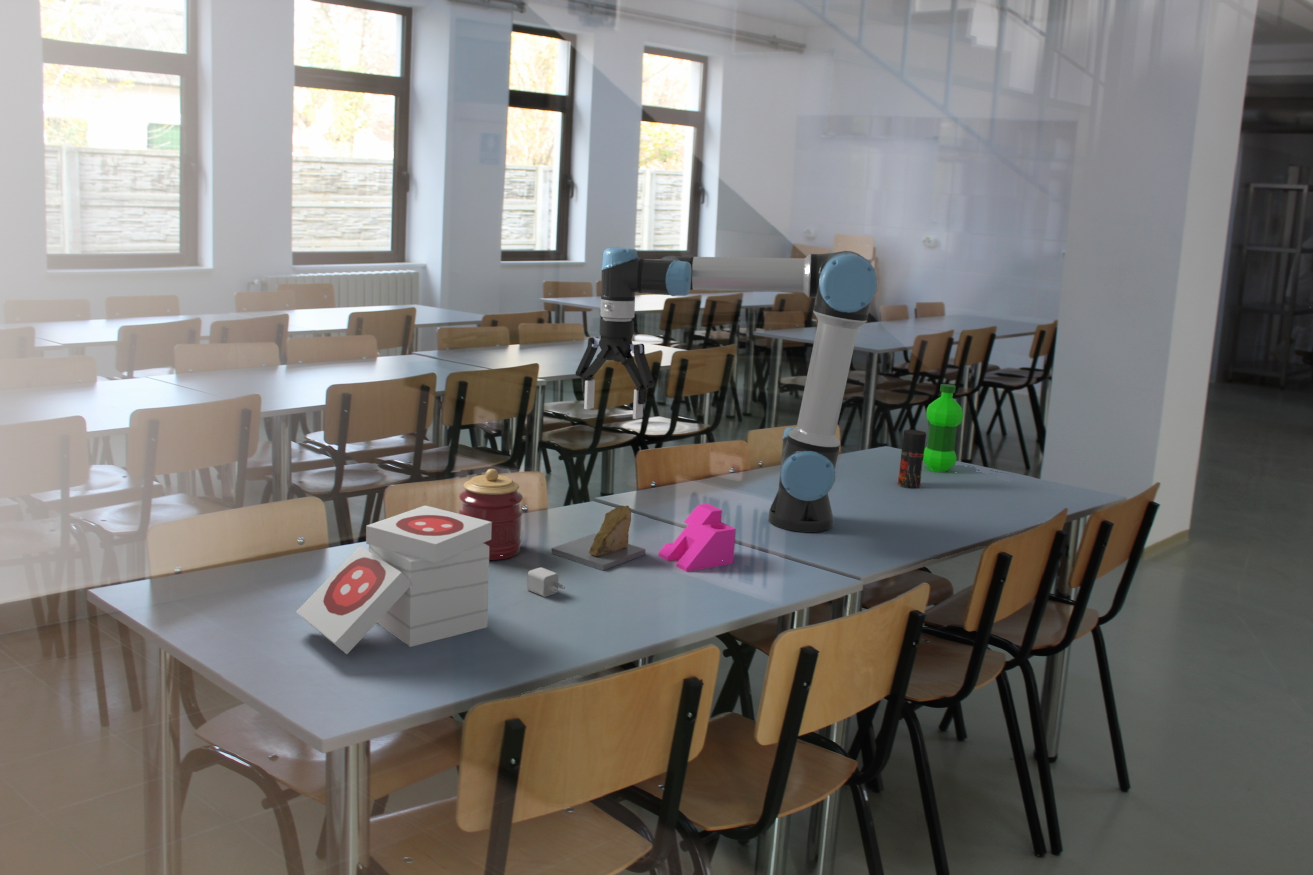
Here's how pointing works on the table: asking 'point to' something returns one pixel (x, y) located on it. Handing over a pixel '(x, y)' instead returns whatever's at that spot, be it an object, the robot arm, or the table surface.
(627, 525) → the rock
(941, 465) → the plastic bottle
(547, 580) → the usb wall charger
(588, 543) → the slate board
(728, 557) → the bracket
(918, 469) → the deodorant
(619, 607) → the table surface
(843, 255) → the robot arm
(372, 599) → the pizza boxes
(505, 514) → the canister
